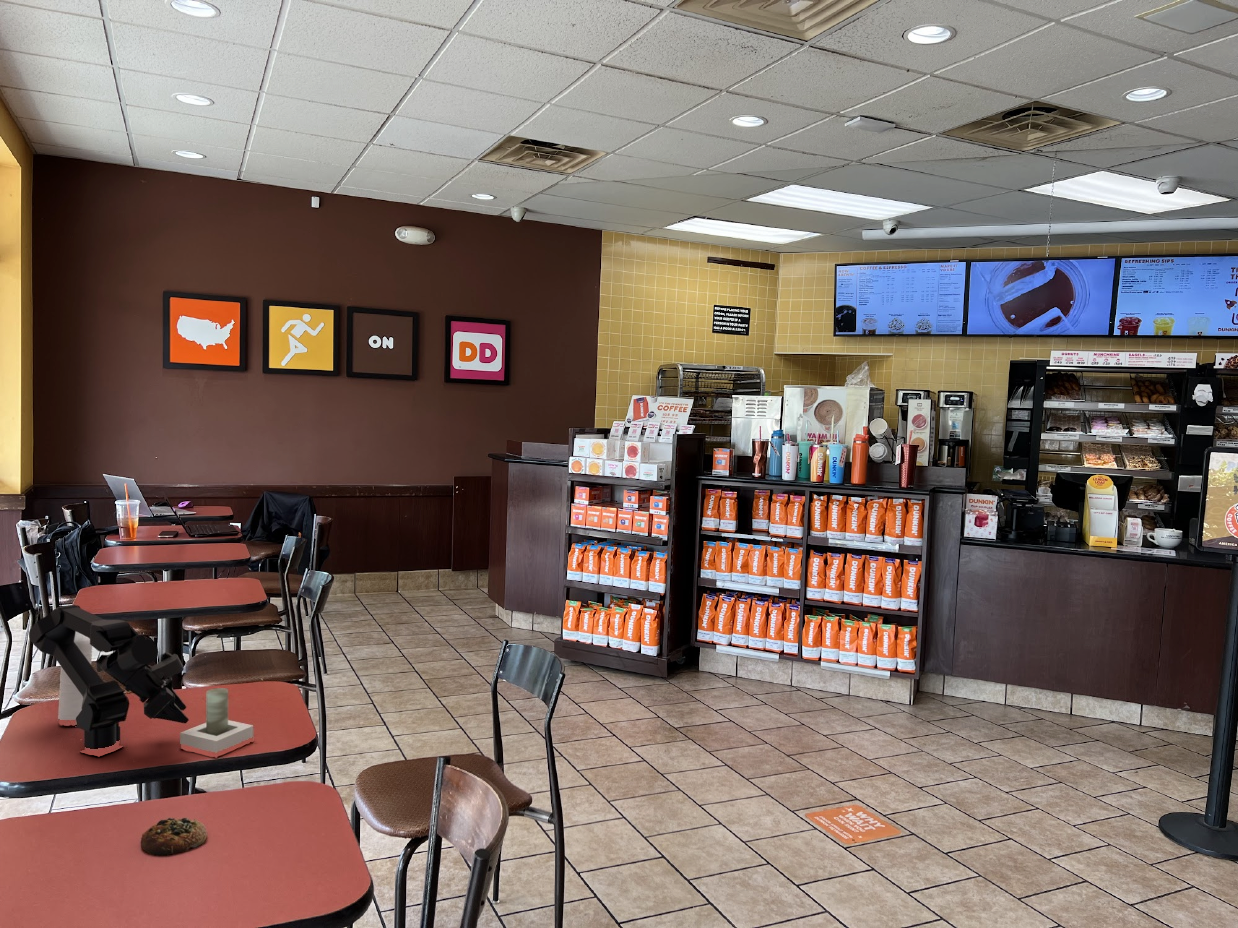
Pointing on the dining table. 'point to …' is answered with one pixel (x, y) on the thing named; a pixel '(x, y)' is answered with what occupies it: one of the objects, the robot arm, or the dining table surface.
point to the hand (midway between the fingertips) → (186, 715)
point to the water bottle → (68, 692)
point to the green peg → (217, 711)
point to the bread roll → (173, 836)
